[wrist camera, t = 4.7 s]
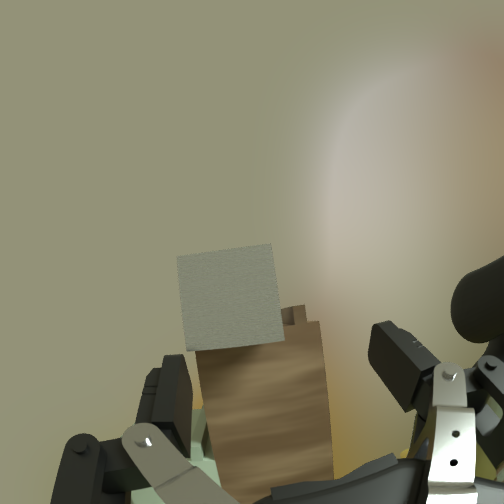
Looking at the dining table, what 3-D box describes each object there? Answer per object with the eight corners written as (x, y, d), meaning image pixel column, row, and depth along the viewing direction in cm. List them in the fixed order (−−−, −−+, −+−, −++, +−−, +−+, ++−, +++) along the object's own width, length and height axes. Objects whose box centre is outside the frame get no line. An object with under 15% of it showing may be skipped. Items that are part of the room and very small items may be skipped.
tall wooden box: (243, 514, 29) (208, 319, 37) (305, 504, 30) (282, 309, 38) (249, 579, 14) (191, 318, 21) (333, 563, 15) (316, 302, 22)
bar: (237, 327, 36) (234, 297, 37) (268, 323, 36) (264, 293, 37) (186, 351, 11) (176, 256, 12) (284, 340, 11) (270, 243, 12)
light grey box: (187, 516, 28) (156, 401, 33) (243, 514, 29) (219, 397, 34) (174, 578, 13) (112, 444, 18) (249, 579, 14) (211, 446, 19)
